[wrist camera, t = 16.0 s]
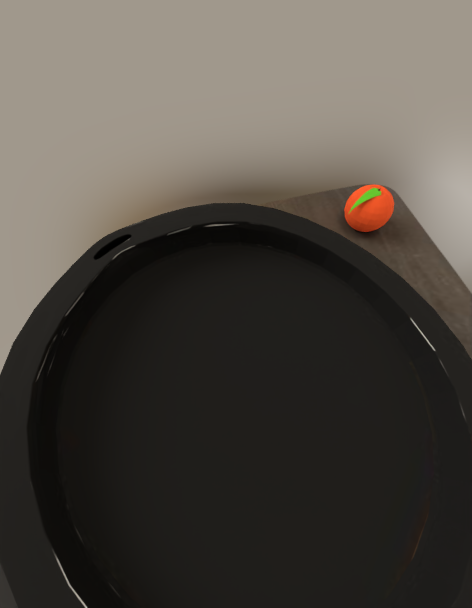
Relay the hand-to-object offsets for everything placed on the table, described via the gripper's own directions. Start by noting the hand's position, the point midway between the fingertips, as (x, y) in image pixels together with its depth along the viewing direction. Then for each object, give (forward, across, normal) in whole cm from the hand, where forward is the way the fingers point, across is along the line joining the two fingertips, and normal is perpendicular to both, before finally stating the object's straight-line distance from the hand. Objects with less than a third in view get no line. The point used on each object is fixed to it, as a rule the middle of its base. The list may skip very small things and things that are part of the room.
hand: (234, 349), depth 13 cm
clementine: (+32, +23, +4) cm, 40 cm away
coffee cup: (+2, 0, -7) cm, 7 cm away
